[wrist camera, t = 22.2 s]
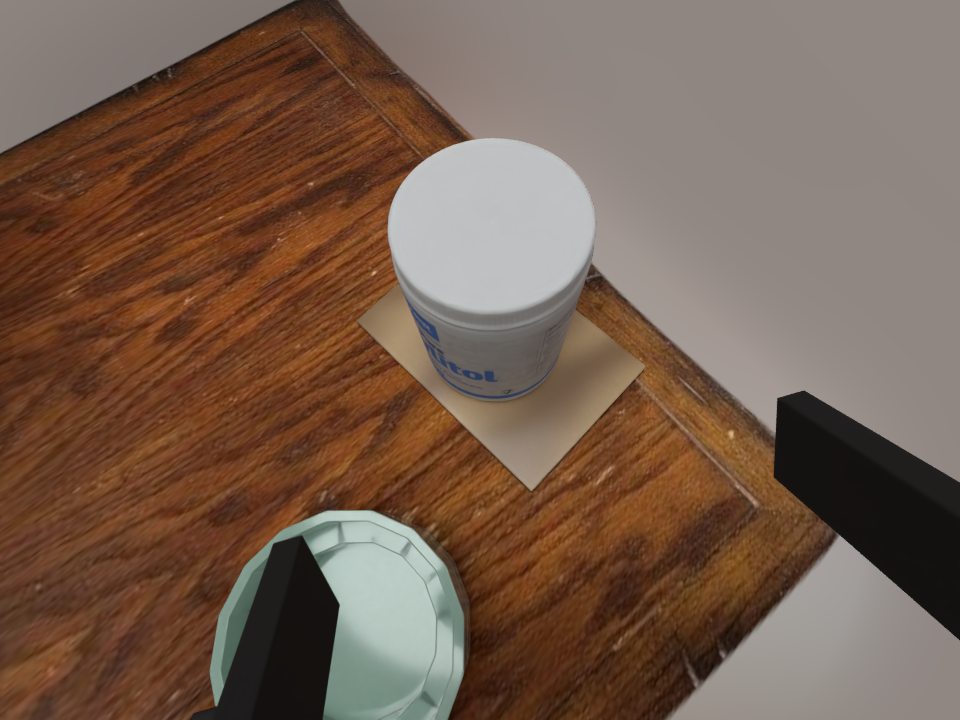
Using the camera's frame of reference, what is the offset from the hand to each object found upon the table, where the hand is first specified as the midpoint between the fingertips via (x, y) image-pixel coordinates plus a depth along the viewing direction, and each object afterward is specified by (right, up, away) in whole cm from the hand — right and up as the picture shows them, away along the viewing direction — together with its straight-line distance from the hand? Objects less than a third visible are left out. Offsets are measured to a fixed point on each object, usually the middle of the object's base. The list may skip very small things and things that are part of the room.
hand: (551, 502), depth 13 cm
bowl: (-9, -13, +16) cm, 22 cm away
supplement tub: (-1, +5, +22) cm, 22 cm away
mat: (-1, +5, +22) cm, 23 cm away
